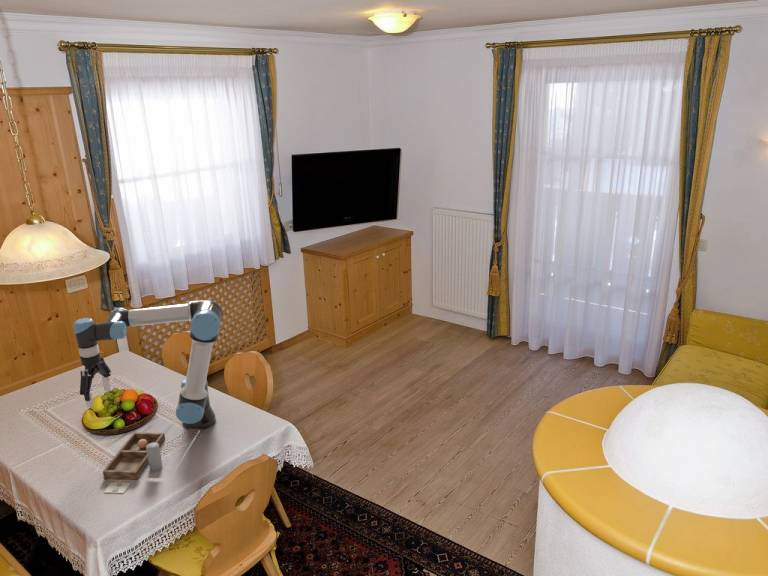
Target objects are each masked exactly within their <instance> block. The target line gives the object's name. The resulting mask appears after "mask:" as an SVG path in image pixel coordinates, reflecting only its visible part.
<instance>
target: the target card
mask: <svg viewBox="0 0 768 576" xmlns="http://www.w3.org/2000/svg"><path fill="white" fill-rule="evenodd" d="M130 485H131V483H130V482H113V481H112V482H110V484H109V485H108V486H107V487H106V489H105V490H104V492H103V493H104V494H123V495H124V493H125V492H126V490H127V489H128V488H129V487H130Z"/></svg>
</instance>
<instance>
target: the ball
mask: <svg viewBox="0 0 768 576" xmlns="http://www.w3.org/2000/svg"><path fill="white" fill-rule="evenodd" d="M146 446H147V441H146V440H145V439H141V440H139V441H138V447H139V448H145V447H146Z"/></svg>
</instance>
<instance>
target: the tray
mask: <svg viewBox="0 0 768 576" xmlns="http://www.w3.org/2000/svg"><path fill="white" fill-rule="evenodd" d="M141 439H145V440H146V441H147V445H148V444H150V443H154V442H156V443H158V444H159V448H160V447H161V446H162V444H163V442H164V441H165V439H166V436H165V433H164V432H133V433H132V434H131V435H130V437H129V438H128V439H127V440H126V442H125V443H124V444H123V446H122V447H121V448H120V449H119V450H118V452H117V453H115V455H114V457H113V458H112V459H111V460H110V462H109V463H108V464H107V466H105V468H104V469H103V471H102V474H103V478H104V480H107V481H134V482H135V481H137V482H138V481H139V480H140V478H141V477H140V476H141V474H142V473H143V471H144V469H145V468H146V466H147V465H149V461H148V456H147V450H146V447H145V448H139V447H138V441H139V440H141Z"/></svg>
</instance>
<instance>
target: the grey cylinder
mask: <svg viewBox="0 0 768 576" xmlns="http://www.w3.org/2000/svg"><path fill="white" fill-rule="evenodd" d="M160 449H161V448H160V447H159V444H158V443H156V442H154V443H150V444H148V445H147V446H146V450H147V456H148V461H149V462H148V466H149V467H148V468H149V472H151V473H156V472H159V471H161V470H162V469H163V461H162V454H161V450H160Z"/></svg>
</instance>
